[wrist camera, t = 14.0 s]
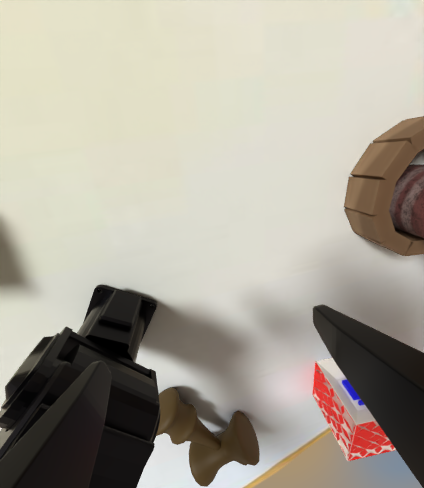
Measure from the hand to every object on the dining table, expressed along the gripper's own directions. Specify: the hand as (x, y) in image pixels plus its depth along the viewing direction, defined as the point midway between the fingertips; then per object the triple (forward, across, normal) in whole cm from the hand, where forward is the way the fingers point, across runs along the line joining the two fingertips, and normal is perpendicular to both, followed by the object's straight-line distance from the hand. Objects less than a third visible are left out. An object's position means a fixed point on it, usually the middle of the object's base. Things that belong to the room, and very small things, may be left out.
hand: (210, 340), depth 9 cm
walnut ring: (+13, -21, 0) cm, 25 cm away
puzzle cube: (+13, -16, +27) cm, 34 cm away
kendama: (+14, +6, +30) cm, 33 cm away
